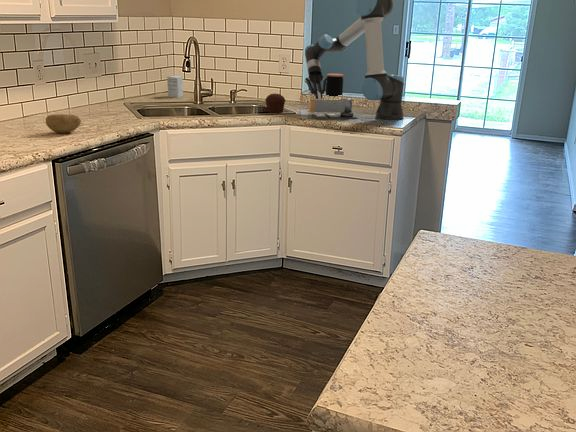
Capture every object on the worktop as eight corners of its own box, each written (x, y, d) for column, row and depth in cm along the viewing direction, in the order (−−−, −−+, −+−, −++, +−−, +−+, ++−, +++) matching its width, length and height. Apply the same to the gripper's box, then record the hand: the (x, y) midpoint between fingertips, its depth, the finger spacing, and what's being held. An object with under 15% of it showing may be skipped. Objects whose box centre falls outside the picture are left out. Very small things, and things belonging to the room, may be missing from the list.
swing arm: (350, 111, 316) (351, 98, 314) (352, 113, 311) (353, 99, 309) (308, 111, 311) (309, 97, 309) (310, 112, 307) (311, 99, 304)
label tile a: (335, 115, 318) (335, 113, 317) (340, 119, 309) (340, 116, 308) (324, 115, 317) (324, 113, 316) (329, 118, 307) (329, 116, 307)
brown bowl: (82, 134, 246) (81, 115, 244) (47, 135, 241) (45, 116, 238) (80, 130, 255) (79, 111, 252) (46, 131, 249) (44, 112, 247)
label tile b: (323, 115, 316) (323, 113, 316) (327, 118, 307) (327, 116, 307) (312, 115, 315) (312, 113, 315) (316, 118, 306) (316, 116, 306)
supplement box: (173, 95, 374) (172, 75, 370) (183, 96, 372) (182, 76, 368) (167, 96, 367) (166, 76, 363) (177, 97, 365) (177, 77, 361)
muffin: (289, 112, 324) (290, 94, 321) (275, 114, 316) (276, 95, 313) (274, 109, 331) (274, 92, 328) (260, 111, 324) (260, 93, 321)
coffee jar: (341, 102, 370) (343, 74, 364) (341, 105, 360) (343, 75, 354) (325, 102, 371) (326, 73, 365) (324, 104, 361) (326, 74, 355)
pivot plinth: (352, 116, 319) (352, 111, 318) (357, 118, 311) (357, 114, 310) (336, 116, 317) (336, 111, 317) (341, 118, 309) (341, 113, 308)
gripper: (324, 74, 332) (329, 107, 322) (301, 73, 330) (307, 107, 320) (326, 65, 326) (332, 99, 316) (304, 64, 323) (309, 99, 313)
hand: (319, 103), depth 318 cm, fingers closed
